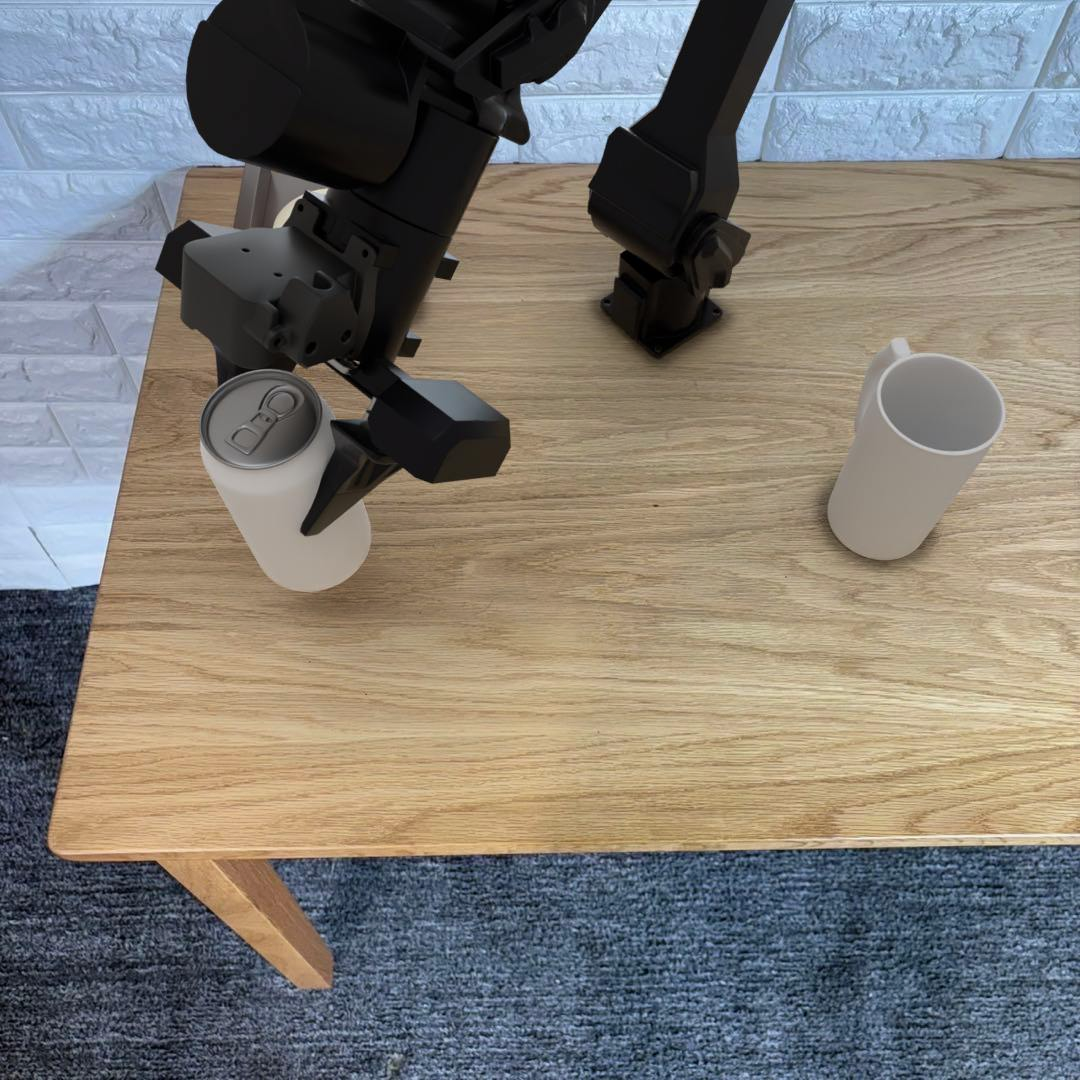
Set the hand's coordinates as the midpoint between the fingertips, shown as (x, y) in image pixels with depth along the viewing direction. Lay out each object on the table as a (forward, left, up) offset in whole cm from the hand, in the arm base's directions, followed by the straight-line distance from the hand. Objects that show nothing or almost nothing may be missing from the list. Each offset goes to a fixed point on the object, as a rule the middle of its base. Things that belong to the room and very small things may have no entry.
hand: (266, 497), depth 50 cm
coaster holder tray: (-17, -24, -12) cm, 31 cm away
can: (-1, 0, -7) cm, 7 cm away
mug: (-32, +15, -13) cm, 38 cm away
